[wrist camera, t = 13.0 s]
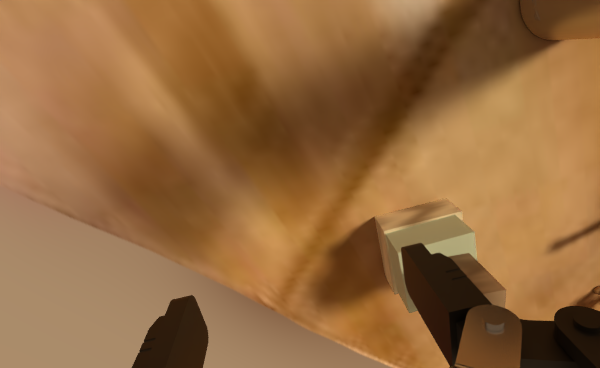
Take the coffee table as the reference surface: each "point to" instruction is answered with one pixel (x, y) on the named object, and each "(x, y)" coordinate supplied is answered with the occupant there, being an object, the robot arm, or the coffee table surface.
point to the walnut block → (481, 278)
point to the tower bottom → (409, 219)
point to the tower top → (429, 246)
